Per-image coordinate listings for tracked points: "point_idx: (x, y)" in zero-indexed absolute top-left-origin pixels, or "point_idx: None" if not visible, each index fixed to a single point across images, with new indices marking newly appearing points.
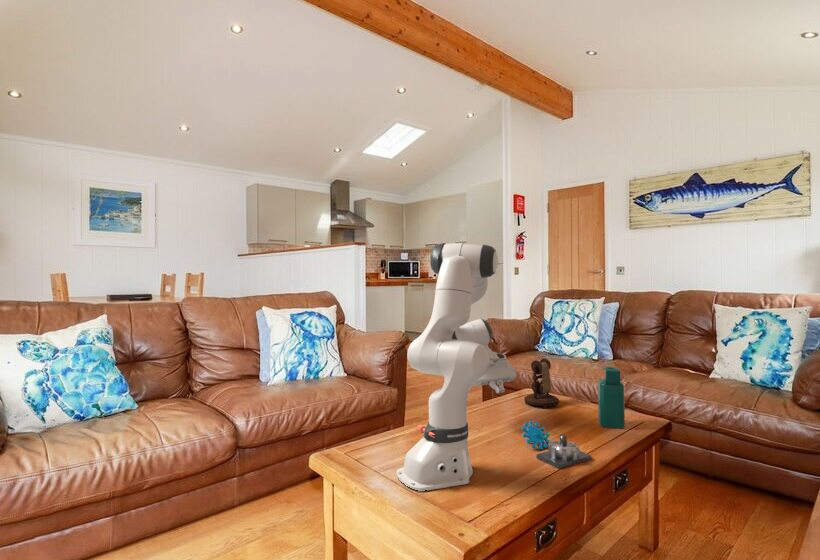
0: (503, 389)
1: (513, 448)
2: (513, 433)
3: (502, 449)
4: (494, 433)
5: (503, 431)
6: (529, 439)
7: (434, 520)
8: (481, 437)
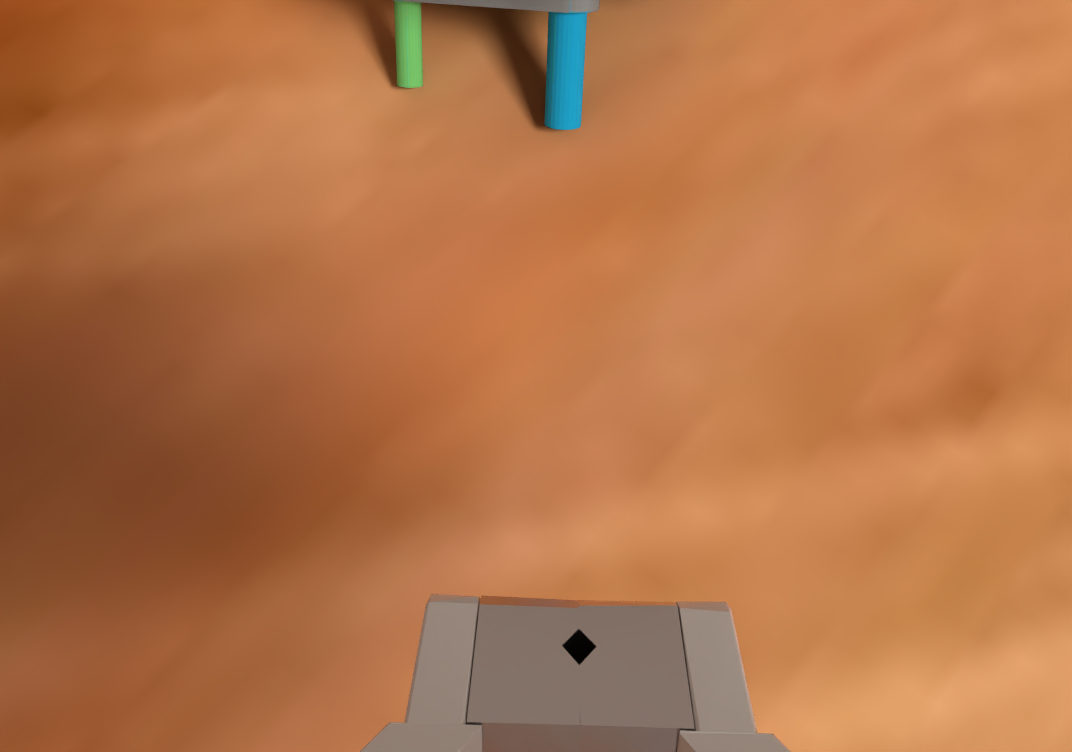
0: (490, 601)
1: (832, 100)
2: (487, 462)
3: (966, 139)
4: None
5: None
6: (583, 67)
7: None
8: (982, 579)
